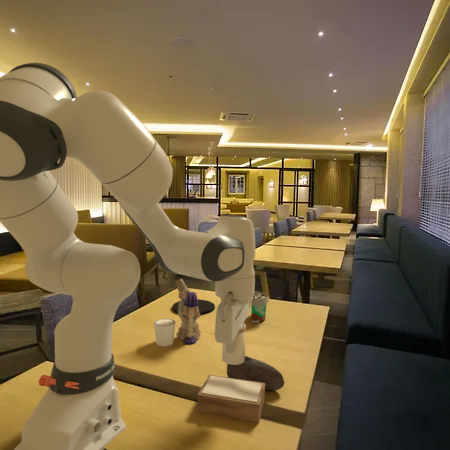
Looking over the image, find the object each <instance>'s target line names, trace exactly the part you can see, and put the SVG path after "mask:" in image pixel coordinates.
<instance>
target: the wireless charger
mask: <svg viewBox="0 0 450 450" xmlns="http://www.w3.org/2000/svg"><path fill="white" fill-rule="evenodd" d="M197 299H198V298H197ZM179 302H181V300H179V301H175V302H174V303H173V304H172V311H173V313H175V314H177V315H179V314H178V307H179ZM197 307H198V308H199V313H200V316H205V315H207V314H211V313H212V312H214V311H215V308H216V306H215V303H214V302H212V301H210V300H206V299H201V298H200V299H198V306H197Z"/></svg>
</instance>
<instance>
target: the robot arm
mask: <svg viewBox="0 0 450 450" xmlns="http://www.w3.org/2000/svg"><path fill="white" fill-rule="evenodd" d="M67 158H72V159H75V160H76V161H78V162H80V163H81V164H82V165H84V166H85V167H86V168H87V170H89V172H90V173H91V174H93V176H94V177H95V178H96V180H98V182H99V183H100V184H101V185H103V187H104V188H105V189H106V191H108V192H109V193H110V194H111V195H112V197H113V198H114V199H115V200H116V201H117V202H118V204H119V205H120V207H121V208H122V210H123V211H124V213H125V214H126V216H127V217H128V218H129V219H130V221H131V222H132V223H133V224H134V225H135V227H136V228H137V230H139V232H140V233H141V235H142V236H143V237H144V238H145V239H146V241H147V242H148V243H149V245H150V246H151V248H152V250H153V253H154V255H155V258H156V261H157V263H158V265H159V267H160V268H161V269H162V270H163V271H165V272H166V273H168V274H173V275H180V276H186V277H189V278H194V279H198V280H202V281H206V282H214V284H215V285H214V286H215V288H214V289H215V290H214V292H215V293H214V294H215V295H216V297H218V298H220V303H219V304H218V305H217V308H216V311H215V312H216V313H215V323H214V324H215V326H214V327H215V328H214V339H215V342H216V343H220V344H223V343H225V345H226V353H229V354H233V353H234V351H235V344H234V339H235V337H236V335H237V333H238V332H239V330H240V328H241V326H242V324H243V323H244V324H245V321H246V319H247V318H248V315H249V314H250V313H251V306H252V305H251V302H252V300H253V296H254V291H255V286H256V278H255V277H256V275H255V274H256V272H255V268H254V260H255V258H256V234H255V226H254V222H253V221H252V219H250V218H249V217H246V216H241V215H235V214H222V215H220V216H219V217H218V221H217V223H216V224H215V225H214V226H212V227H211V228H210V229H208V230H206V231H203V232H202V231H194V230H187V229H184V228H180V227H178V226H177V225H175V224H174V223H173V222H172V221H171V219H170V218H169V216H168V215H167V214H166V212H165V211H164V209H163V207H162V206H161V205H160V202H161V200H162V199H163V198H164V197H165V196H166V195H167V193H168V191H169V190H170V188H171V185H172V181H173V177H174V176H173V175H174V171H173V170H174V169H173V167H172V164H171V161H170V159H169V157H168V155H167V154H166V152H165V150H164V149H163V148H162V147H161V145H160V144H159V143H158V141H157V140H156V139H155V137H154V136H153V134H152V133H151V132H150V130H149V129H148V128H147V127H146V126H145V124H144V123H143V122H142V121H141V119H139V118H138V117H137V115H135V114H134V112H132V110H131V109H130V108H129V107H128V106H127V105H126V104H125V103H123V101H122V100H120V99H119V98H118V97H117V96H116V95H114V94H113V93H111V92H109V91H105V90H99V89H98V90H91V91H88V92H85V93H82V94H80V95H79V96H78V95H77V92H76V89H75V86H74V85H73V84H72V82H71V80H70V79H69V78H68V77H67V75H65V74H64V73H63V72H62V71H60V70H59V69H58V68H57V67H54V66H52V65H49V64H47V63H42V62H28V63H22V64H20V65H17V66H15V67H13V68H12V69H11V70H9V72H8V73H5V74H4V75H2V76H0V223H1V225H3V227H4V228H5V229H6V230H7V232H8V233H10V234H11V236H12V238H13V239H14V240H16V241H17V243H18V244H19V246H20V247H21V249H22V250H23V251H24V253H25V256H26V260H25V264H24V265H25V266H24V269H25V275H26V278H28V280H29V281H30V283H32V284H33V285H34V286H37V287H39V288H41V289H43V290H44V291H48V292H51V293H55V294H60V295H66V296H71V297H72V305H71V310H70V313H69V314H67V315H66V316H64V317H63V318H61V320H60V321H59V322H58V323H57V325H56V326H55V328H54V332H53V333H54V363H53V365H52V369H51V374H50V375H47V374H42V375H41V376H40V377H39V379H38V382H37V383H38V386H40V387H46V388H47V390H46V391H45V393H44V394H43V396H42V397H41V399H40V401H38V403H37V405H36V406H35V408H34V410H33V411H32V413H31V414H30V416H29V417H28V418H27V420H26V422H25V423H24V425H23V428H22V434H21V440H20V442H19V443H18V445H17V446H16V447H15V448H14V449H13V450H105V449H106V448H105V447H106V446H107V445H108V444H110V443H111V442H112V441H113V440H114V439H115V438H116V437H117V436H119V435H120V434H121V433H122V432H123V431H125V429H126V427H127V424H126V422H125V421H124V419H123V418H122V412H121V411H122V410H121V401H120V394H119V390H118V386H117V384H116V382H115V379H114V374H115V365H116V364H115V359H114V357H115V356H114V353H112V352H113V351H112V350H113V346H112V345H113V344H112V343H113V342H112V341H113V340H112V339H113V323H114V319H115V315H116V312H117V310H118V308H119V307H120V305H121V304H122V302H123V301H125V300H126V299H127V298H128V297H130V296H131V295H132V294H133V293H134V291H135V290H136V289H137V287H138V285H139V283H140V279H141V267H140V266H141V265H140V262H139V260H138V257H137V256H136V255H135V254H134V253H133V252H132V251H130V250H126V249H123V248H120V247H118V246H114V245H112V244H111V245H110V244H103V243H102V244H100V243H90V242H85V241H83V240H81V239H80V238H78V236H76V234H75V231H76V228H77V226H78V222H79V213H78V211H77V209H76V208H75V206H74V204H73V203H72V202H71V201H70V199H69V198H68V196H67V194H66V193H65V191H64V190H63V188H62V187H61V185H60V184H59V182H58V181H57V179H55V177H54V175H53V174H52V173H51V171H53V170H54V171H55V170H58V169H60V168H63V165H64V164H65V161H66V159H67Z"/></svg>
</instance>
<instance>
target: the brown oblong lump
mask: <svg viewBox="0 0 450 450" xmlns="http://www.w3.org/2000/svg"><path fill="white" fill-rule="evenodd" d="M226 374H227V377H228V378H234V379H241V380H247V381H254V382H261V383H265V391H278V390H281V389H282V388H283V387H284V386H285V381H284V380H285V379H284V376H283V375H282V372H280V371H279V370H278V369H276V368H275V367H274V366H272V365H270V364H269V363H266V362H264V361H261V360H258V359H256V358H254V357H250V356H247V355H245V361H244V362H243V363H241V364H238V365H231V364H227V363H226Z"/></svg>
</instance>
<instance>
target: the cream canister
mask: <svg viewBox="0 0 450 450" xmlns="http://www.w3.org/2000/svg"><path fill="white" fill-rule="evenodd" d="M246 331H247V325H246V323H245V322H244V323H243V324H242V326H241V328H240V330H239V332H238V333H237V335H236V337H235V339H234V344H235V351H234V353H233V354H229V353H226V345H225V343H222V350H221V351H222V353H221V354H222V355H221V356H222V357H221V358H222V362H224V363H225V364H226V365H227V364H231V365H238V364H241V363H243V362H244V361H245V356H246V333H247V332H246Z"/></svg>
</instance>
